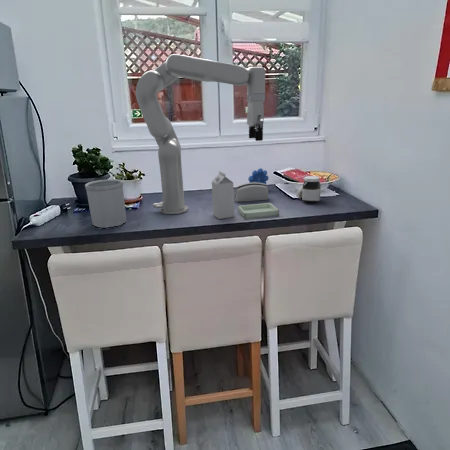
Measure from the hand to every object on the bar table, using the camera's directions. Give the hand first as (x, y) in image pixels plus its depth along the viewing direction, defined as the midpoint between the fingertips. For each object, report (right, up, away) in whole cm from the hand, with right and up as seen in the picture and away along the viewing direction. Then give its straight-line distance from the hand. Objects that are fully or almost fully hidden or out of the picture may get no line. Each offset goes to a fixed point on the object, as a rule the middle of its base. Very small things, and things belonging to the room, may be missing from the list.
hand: (255, 139), depth 171 cm
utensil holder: (-62, -37, -7) cm, 72 cm away
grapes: (+4, -19, +37) cm, 42 cm away
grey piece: (0, -26, +20) cm, 32 cm away
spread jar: (+26, -26, +15) cm, 40 cm away
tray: (+1, -32, -1) cm, 33 cm away
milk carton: (-14, -34, -3) cm, 37 cm away
